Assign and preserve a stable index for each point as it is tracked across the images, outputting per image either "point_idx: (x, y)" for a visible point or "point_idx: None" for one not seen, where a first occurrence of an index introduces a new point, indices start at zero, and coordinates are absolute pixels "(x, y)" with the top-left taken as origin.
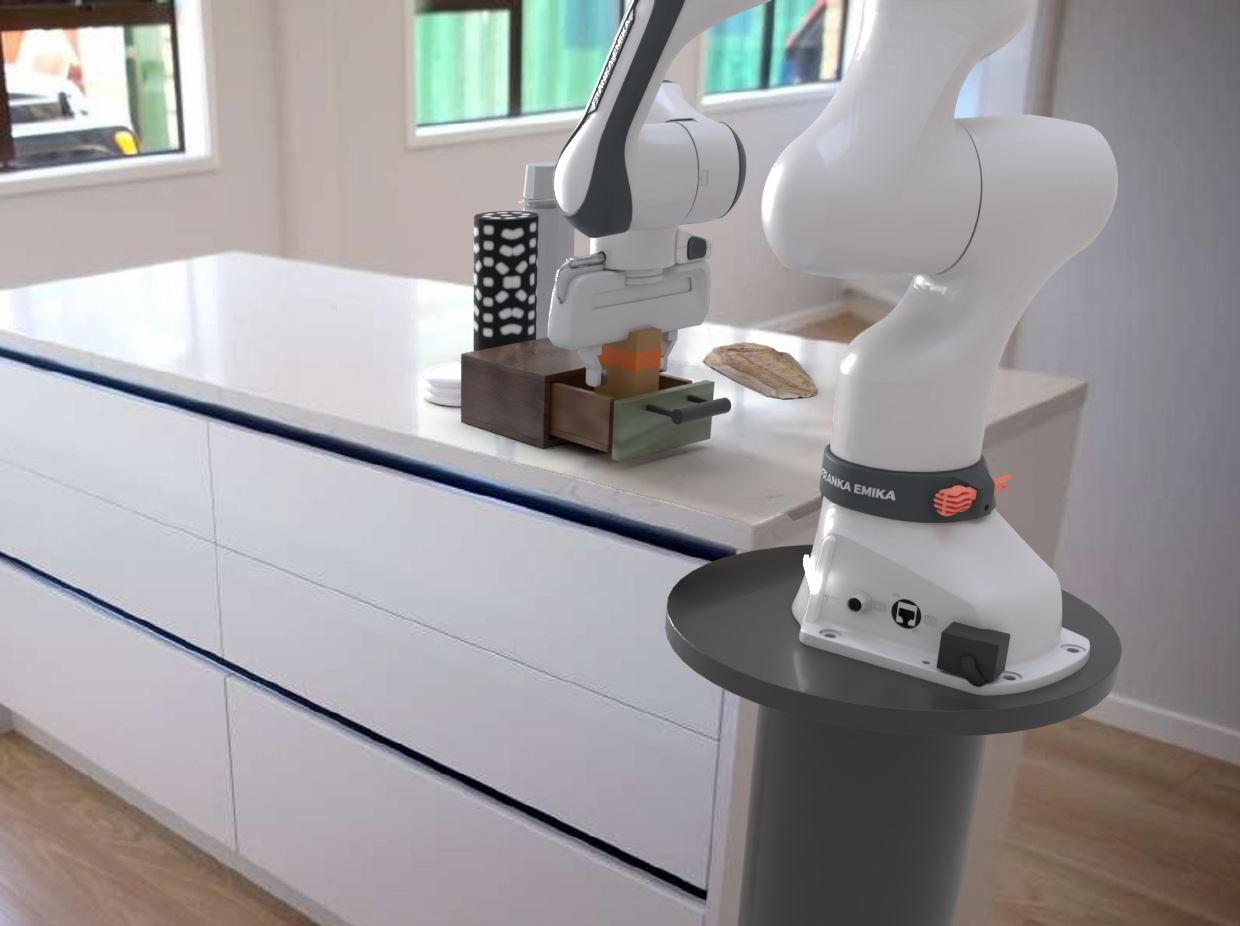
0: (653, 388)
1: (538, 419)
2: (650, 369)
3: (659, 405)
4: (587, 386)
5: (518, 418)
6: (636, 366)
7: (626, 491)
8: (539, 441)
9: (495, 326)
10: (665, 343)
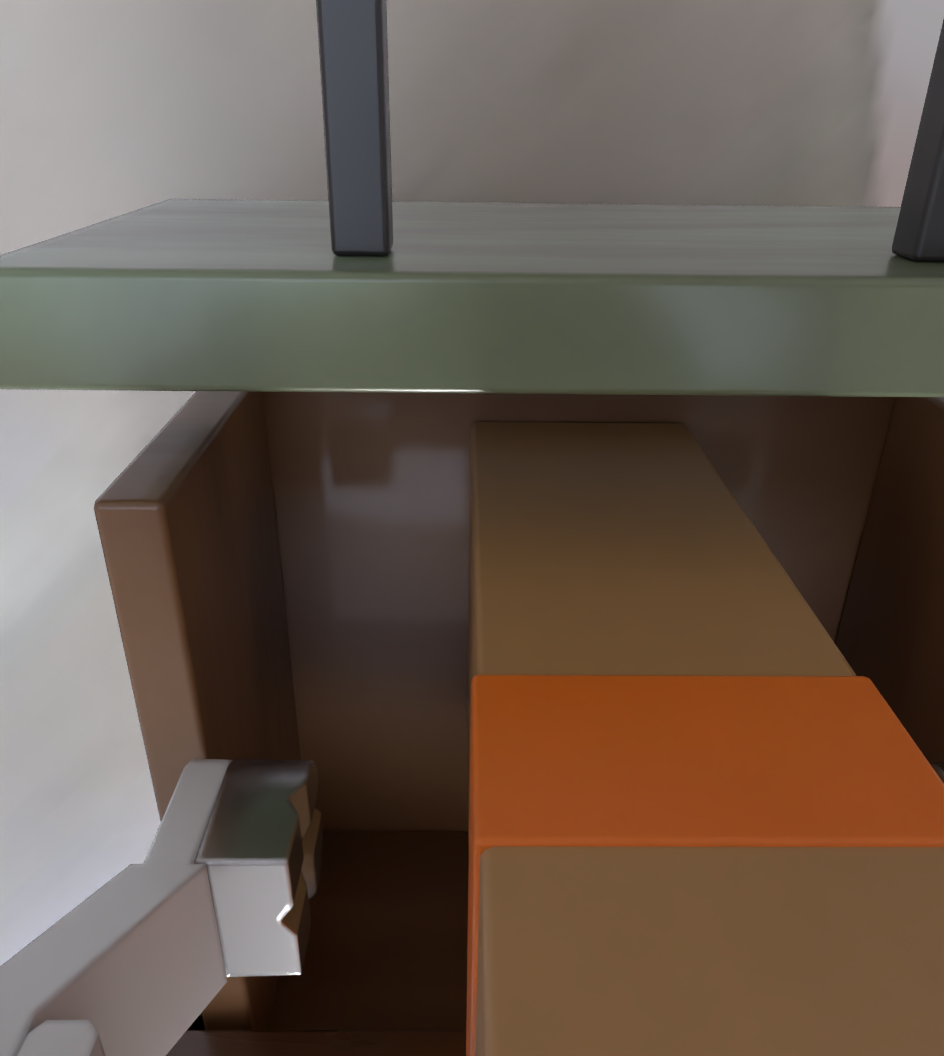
0: (542, 559)
1: None
2: (623, 672)
3: (771, 256)
4: None
5: None
6: (878, 715)
7: (863, 169)
8: None
9: None
10: (93, 1023)
